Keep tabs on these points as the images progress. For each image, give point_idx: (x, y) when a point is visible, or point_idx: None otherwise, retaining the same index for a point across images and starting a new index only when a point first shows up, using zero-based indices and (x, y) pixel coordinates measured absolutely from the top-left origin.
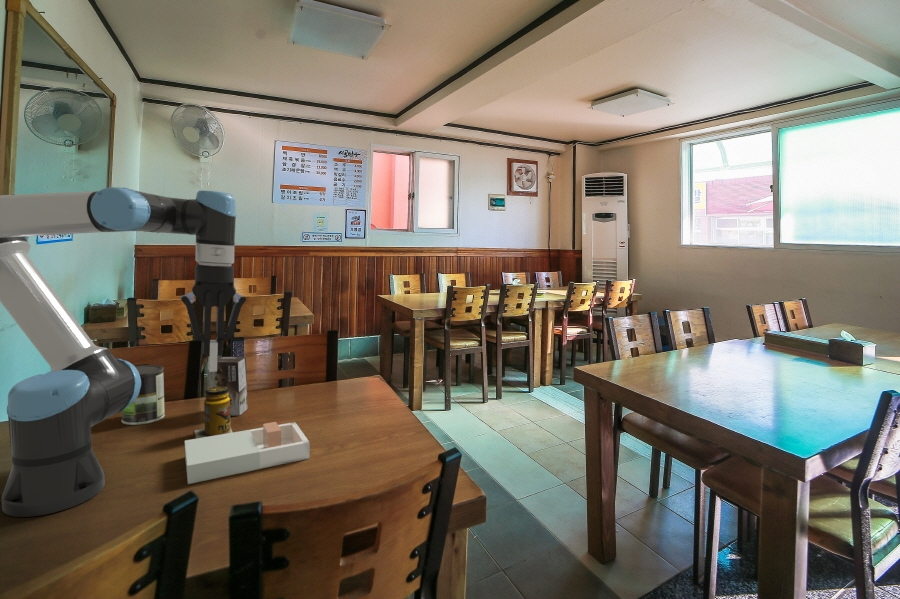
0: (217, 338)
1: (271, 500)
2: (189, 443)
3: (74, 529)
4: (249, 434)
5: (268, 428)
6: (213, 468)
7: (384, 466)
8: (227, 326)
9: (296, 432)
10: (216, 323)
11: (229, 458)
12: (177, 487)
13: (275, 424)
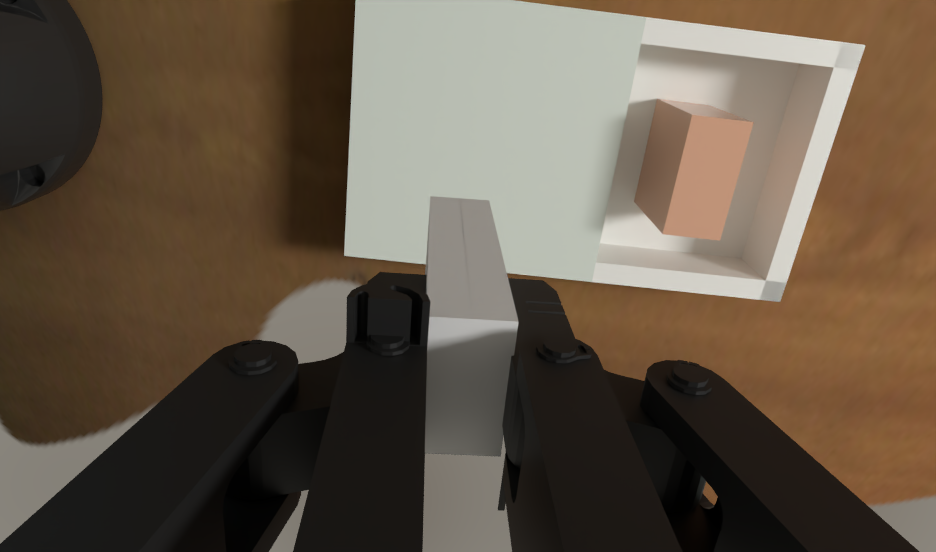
0: (503, 480)
1: None
2: (372, 32)
3: (82, 319)
4: (623, 80)
5: (686, 190)
6: None
7: (893, 447)
8: (719, 491)
9: (799, 168)
10: (551, 511)
11: None
12: (325, 235)
13: (734, 157)
